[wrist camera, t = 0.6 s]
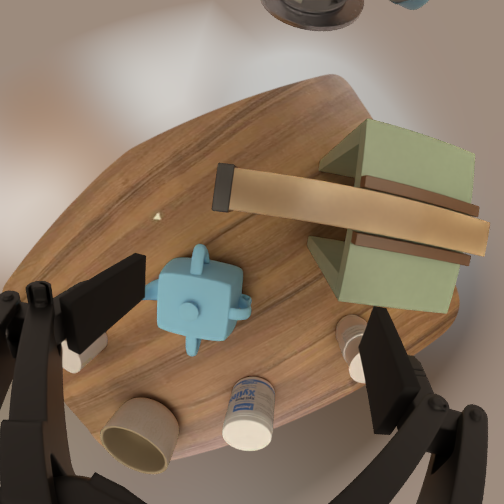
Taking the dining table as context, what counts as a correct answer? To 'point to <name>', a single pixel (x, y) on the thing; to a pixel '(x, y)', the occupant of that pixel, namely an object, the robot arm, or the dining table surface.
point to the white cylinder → (76, 361)
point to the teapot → (199, 298)
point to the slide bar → (346, 208)
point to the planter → (141, 435)
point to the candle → (351, 343)
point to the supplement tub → (250, 414)
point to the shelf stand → (390, 248)
